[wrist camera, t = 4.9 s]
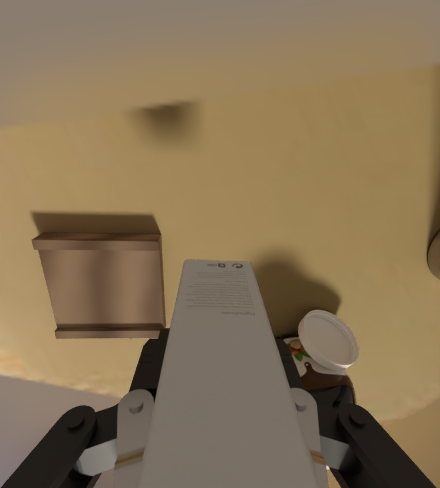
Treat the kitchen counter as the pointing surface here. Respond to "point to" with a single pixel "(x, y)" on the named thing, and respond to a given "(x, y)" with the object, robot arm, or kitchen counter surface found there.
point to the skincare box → (223, 392)
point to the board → (104, 284)
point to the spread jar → (324, 357)
